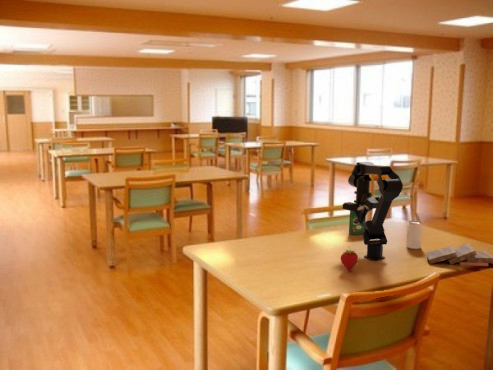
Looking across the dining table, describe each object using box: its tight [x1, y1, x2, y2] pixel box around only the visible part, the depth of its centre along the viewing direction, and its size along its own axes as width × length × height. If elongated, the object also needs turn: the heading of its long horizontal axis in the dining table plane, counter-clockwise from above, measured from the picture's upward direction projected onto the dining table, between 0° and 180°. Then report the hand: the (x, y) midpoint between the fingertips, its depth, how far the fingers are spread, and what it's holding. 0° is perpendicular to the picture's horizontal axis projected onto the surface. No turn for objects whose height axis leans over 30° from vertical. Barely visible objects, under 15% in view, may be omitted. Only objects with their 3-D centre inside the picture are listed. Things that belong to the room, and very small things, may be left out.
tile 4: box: [457, 260, 489, 267], centre depth 210 cm, size 2×10×11 cm
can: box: [406, 220, 423, 250], centre depth 230 cm, size 6×6×12 cm
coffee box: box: [348, 211, 367, 236], centre depth 254 cm, size 8×3×13 cm, turn 103°
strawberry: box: [340, 246, 359, 272], centre depth 197 cm, size 6×8×10 cm
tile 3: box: [465, 250, 493, 264], centre depth 209 cm, size 2×10×11 cm
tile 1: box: [425, 245, 457, 265], centre depth 210 cm, size 2×10×11 cm
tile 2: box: [446, 242, 477, 266], centre depth 209 cm, size 2×10×11 cm
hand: (361, 223), depth 226 cm, fingers closed
